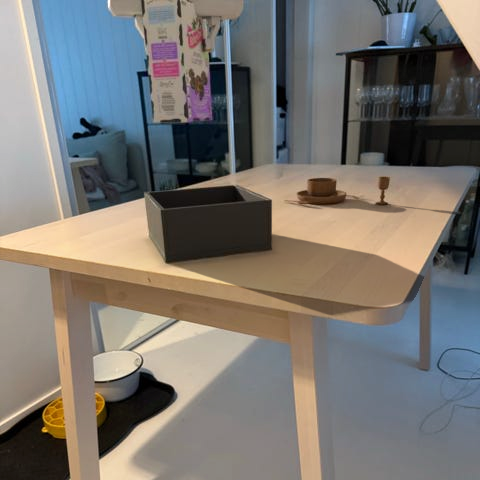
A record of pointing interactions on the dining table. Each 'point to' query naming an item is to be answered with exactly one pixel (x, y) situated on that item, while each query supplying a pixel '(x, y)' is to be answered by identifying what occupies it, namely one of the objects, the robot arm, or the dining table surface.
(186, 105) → the candy box
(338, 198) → the place setting
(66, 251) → the dining table surface
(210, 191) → the dark storage bin
